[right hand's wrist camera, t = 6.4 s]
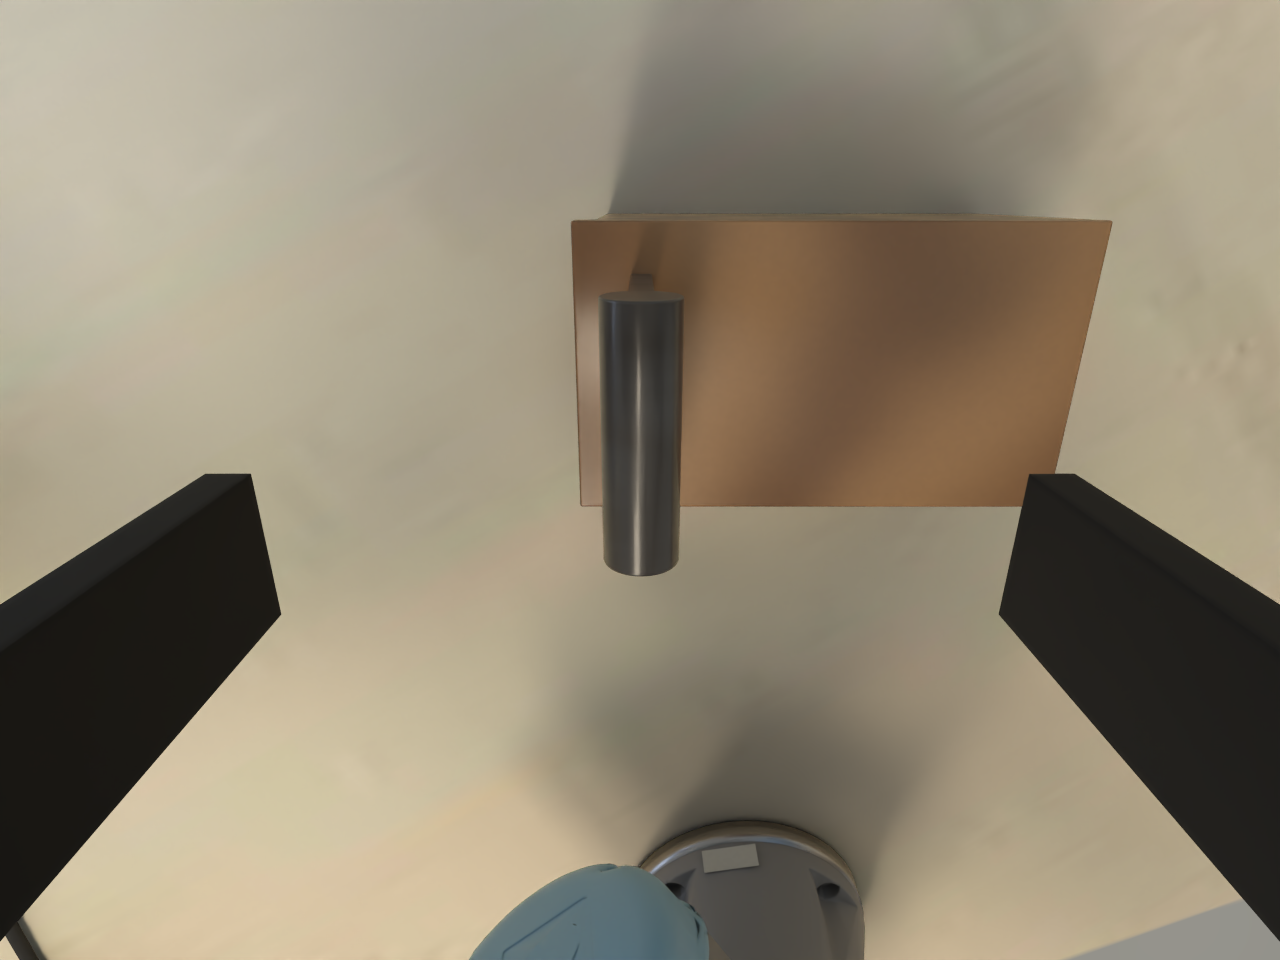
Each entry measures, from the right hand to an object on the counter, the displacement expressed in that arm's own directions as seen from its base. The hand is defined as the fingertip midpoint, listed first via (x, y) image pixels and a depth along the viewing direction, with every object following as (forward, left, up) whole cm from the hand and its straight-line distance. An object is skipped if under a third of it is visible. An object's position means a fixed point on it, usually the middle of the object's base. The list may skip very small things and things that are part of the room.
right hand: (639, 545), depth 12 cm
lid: (+2, -6, -14) cm, 15 cm away
